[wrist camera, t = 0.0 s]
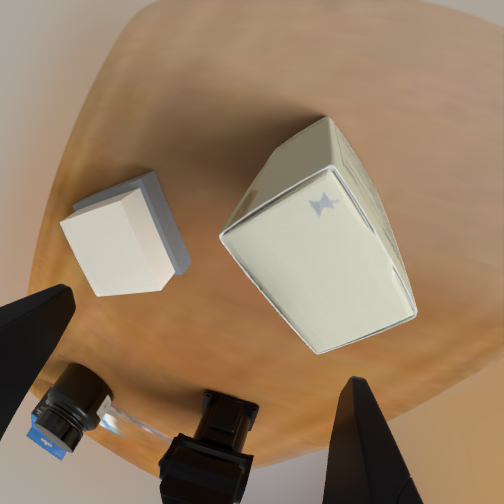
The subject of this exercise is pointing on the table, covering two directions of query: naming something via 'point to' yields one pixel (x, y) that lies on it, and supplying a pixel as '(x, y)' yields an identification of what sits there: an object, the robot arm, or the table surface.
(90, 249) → the tower top
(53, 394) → the ink bottle
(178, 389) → the table surface
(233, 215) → the skincare box
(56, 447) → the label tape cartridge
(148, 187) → the tower bottom
